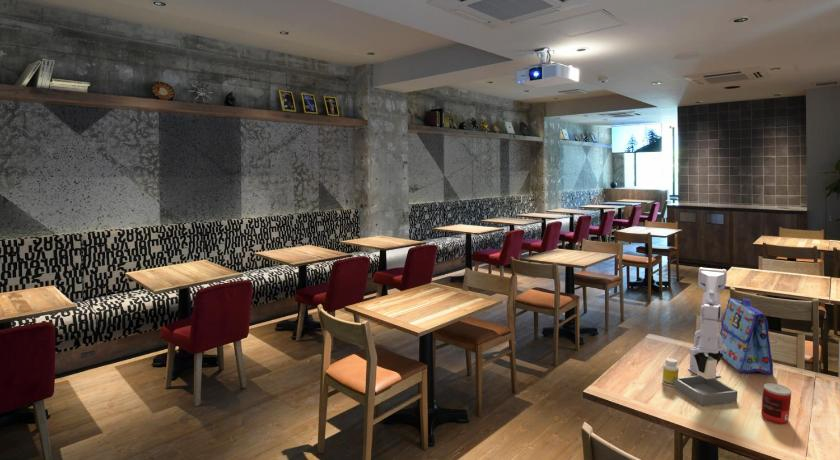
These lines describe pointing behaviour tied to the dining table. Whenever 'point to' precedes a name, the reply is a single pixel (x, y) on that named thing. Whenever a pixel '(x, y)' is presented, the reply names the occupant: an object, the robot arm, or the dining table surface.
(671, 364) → the supplement bottle
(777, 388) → the canned food
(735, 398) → the tray
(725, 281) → the robot arm
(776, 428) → the dining table surface
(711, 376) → the juice carton
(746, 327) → the lunch bag
